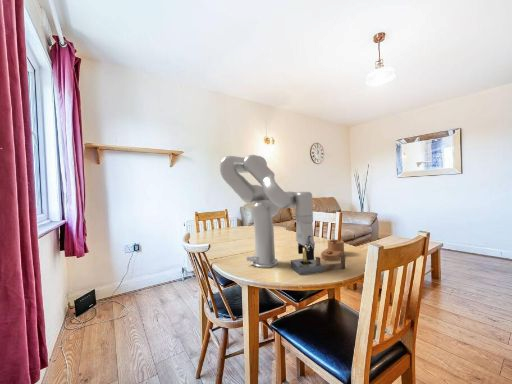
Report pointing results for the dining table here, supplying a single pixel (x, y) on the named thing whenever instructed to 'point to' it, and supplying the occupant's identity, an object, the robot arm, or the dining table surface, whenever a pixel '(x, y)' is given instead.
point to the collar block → (306, 267)
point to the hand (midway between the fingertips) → (305, 256)
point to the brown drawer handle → (332, 266)
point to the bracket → (333, 250)
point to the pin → (305, 256)
